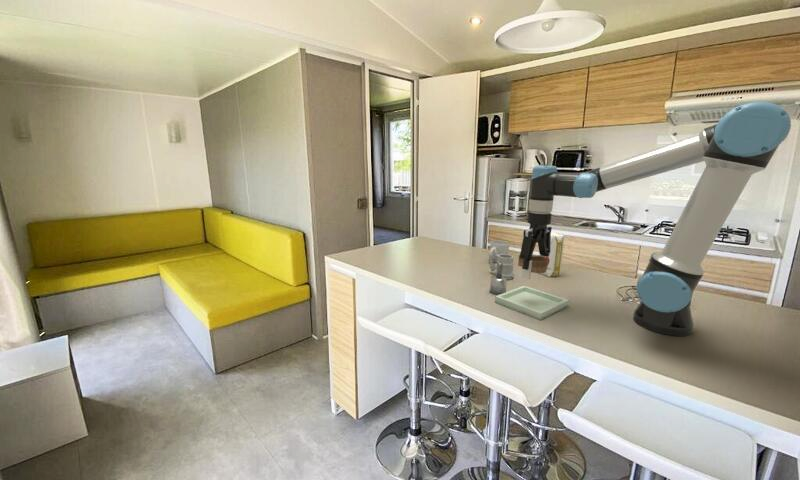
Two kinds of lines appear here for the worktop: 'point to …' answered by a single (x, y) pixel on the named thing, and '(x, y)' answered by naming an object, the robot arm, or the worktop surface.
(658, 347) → the worktop surface
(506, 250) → the mug
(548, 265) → the juice carton
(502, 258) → the mug
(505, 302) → the tray
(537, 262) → the ring
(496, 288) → the grey bottle
